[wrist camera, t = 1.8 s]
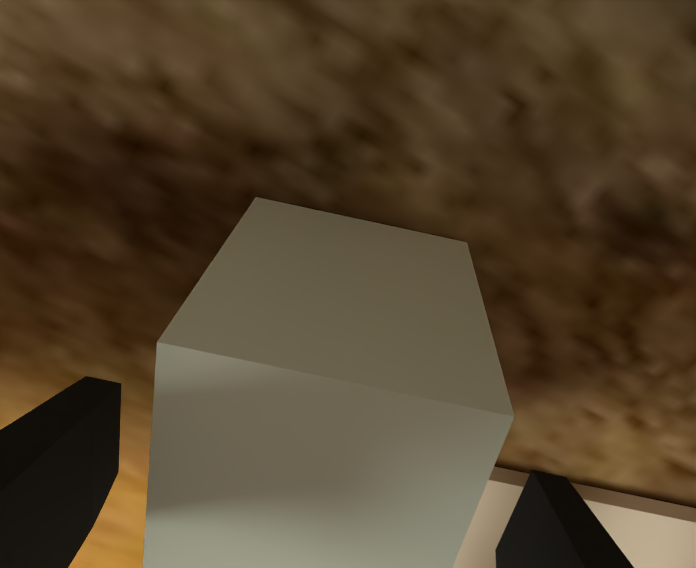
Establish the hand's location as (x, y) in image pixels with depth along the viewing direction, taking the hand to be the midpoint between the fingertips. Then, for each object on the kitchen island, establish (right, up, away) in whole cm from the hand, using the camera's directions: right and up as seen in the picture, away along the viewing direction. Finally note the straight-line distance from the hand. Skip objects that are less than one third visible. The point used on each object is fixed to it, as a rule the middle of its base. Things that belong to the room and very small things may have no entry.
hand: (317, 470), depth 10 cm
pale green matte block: (0, +2, +5) cm, 6 cm away
